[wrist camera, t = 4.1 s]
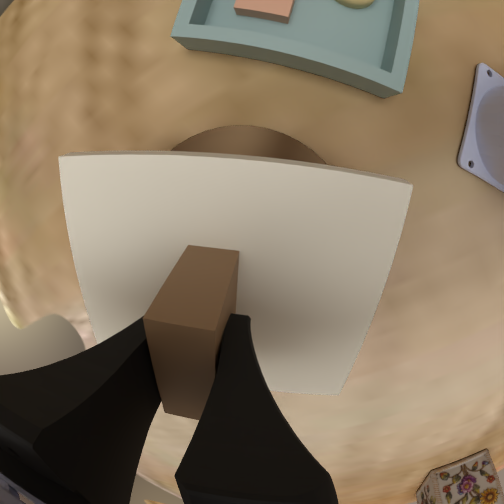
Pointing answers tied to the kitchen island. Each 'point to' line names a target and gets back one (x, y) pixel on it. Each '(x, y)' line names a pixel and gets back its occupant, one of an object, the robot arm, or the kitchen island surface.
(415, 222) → the kitchen island surface
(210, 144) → the trivet
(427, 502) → the decorative jar
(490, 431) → the kitchen island surface
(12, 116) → the kitchen island surface
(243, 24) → the blue-grey open tray
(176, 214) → the lid
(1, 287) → the kitchen island surface
